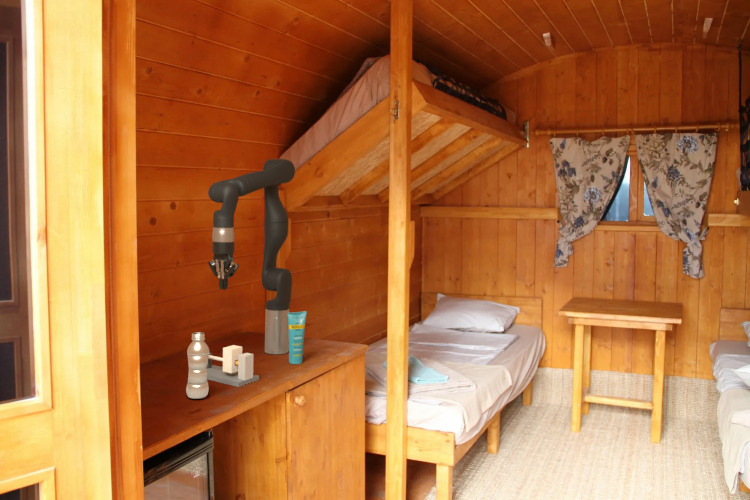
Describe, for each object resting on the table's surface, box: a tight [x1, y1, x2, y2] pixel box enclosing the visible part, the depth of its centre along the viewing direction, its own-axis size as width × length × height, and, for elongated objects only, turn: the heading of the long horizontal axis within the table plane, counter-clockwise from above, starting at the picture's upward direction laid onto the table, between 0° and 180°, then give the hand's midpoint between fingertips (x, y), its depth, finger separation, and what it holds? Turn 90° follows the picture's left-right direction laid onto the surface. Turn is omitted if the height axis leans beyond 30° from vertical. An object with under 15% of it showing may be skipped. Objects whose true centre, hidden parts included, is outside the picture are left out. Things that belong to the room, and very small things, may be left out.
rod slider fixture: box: [207, 352, 260, 388], centre depth 225 cm, size 10×22×10 cm, turn 59°
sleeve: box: [222, 344, 243, 373], centre depth 223 cm, size 5×4×8 cm
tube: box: [288, 310, 308, 365], centre depth 247 cm, size 7×5×19 cm, turn 123°
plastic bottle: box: [185, 331, 210, 400], centre depth 203 cm, size 6×7×20 cm
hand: (223, 289), depth 234 cm, fingers closed
